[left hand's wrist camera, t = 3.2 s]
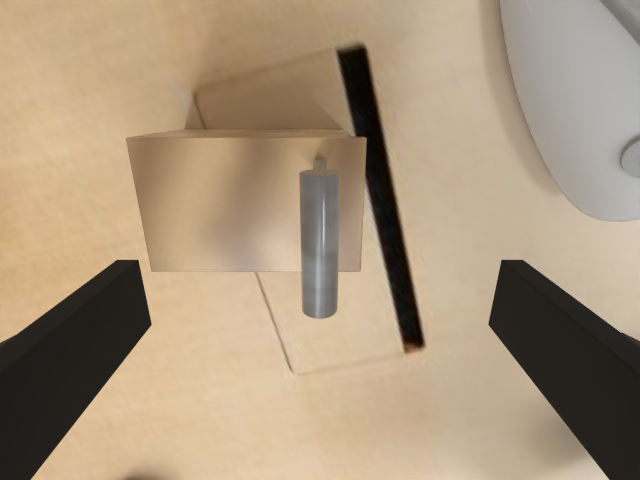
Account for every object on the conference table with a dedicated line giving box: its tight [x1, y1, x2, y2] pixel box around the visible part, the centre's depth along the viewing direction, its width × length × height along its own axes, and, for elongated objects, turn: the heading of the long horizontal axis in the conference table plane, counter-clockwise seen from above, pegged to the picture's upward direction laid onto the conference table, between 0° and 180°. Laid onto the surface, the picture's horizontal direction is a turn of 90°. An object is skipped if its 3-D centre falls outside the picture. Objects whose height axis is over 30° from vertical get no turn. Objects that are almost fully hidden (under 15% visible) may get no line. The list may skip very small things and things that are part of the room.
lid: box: [126, 137, 367, 319], centre depth 20 cm, size 15×9×8 cm, turn 90°
